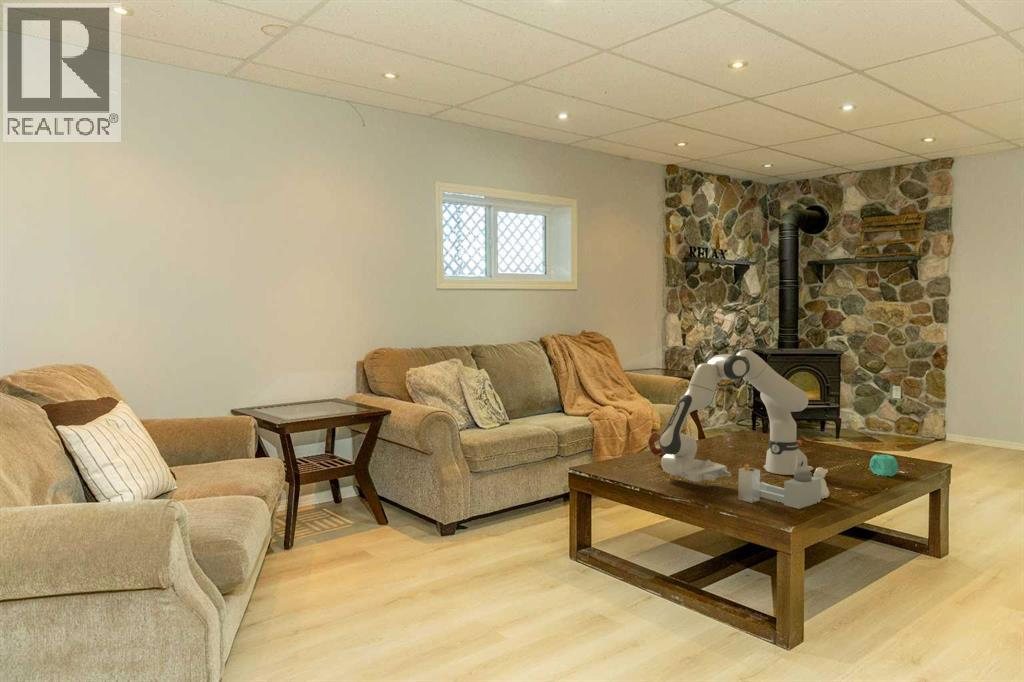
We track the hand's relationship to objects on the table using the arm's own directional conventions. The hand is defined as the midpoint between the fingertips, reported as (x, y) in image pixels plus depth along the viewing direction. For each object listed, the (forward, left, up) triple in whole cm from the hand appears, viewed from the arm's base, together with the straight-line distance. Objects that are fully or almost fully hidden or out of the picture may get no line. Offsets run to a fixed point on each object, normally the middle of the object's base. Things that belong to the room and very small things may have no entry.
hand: (722, 476), depth 271 cm
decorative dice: (-80, +25, -7) cm, 84 cm away
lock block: (0, +12, -7) cm, 14 cm away
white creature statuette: (-25, +26, -7) cm, 37 cm away
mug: (-20, -48, -7) cm, 52 cm away
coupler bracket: (-12, +18, -7) cm, 22 cm away
